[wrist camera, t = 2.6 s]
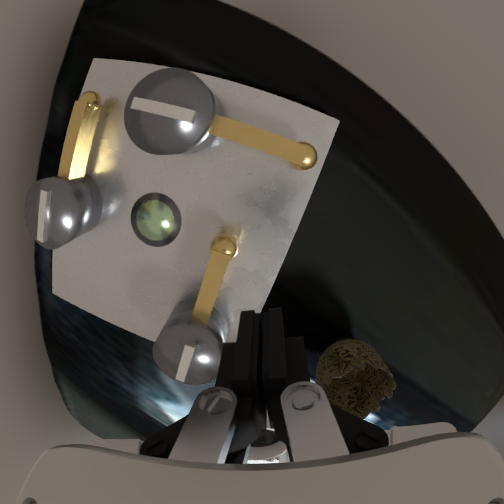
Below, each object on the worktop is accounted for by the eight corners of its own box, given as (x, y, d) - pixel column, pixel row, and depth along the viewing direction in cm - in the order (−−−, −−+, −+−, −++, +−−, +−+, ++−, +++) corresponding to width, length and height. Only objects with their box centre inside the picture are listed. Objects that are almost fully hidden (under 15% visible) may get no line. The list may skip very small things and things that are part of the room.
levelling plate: (235, 360, 30) (233, 370, 28) (59, 287, 28) (51, 293, 27) (335, 122, 21) (340, 120, 20) (101, 61, 20) (93, 57, 18)
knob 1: (142, 143, 21) (109, 143, 16) (165, 77, 19) (137, 59, 14) (298, 195, 22) (308, 209, 17) (325, 127, 20) (343, 119, 15)
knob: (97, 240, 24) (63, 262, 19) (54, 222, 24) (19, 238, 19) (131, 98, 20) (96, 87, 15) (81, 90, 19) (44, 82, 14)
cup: (331, 307, 27) (349, 359, 20) (385, 329, 28) (411, 378, 20) (294, 359, 29) (299, 414, 22) (347, 376, 30) (361, 427, 23)
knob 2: (218, 358, 28) (210, 396, 23) (164, 338, 28) (146, 374, 22) (265, 240, 24) (265, 266, 18) (197, 215, 23) (177, 234, 18)
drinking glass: (280, 347, 29) (282, 421, 20) (291, 387, 31) (296, 456, 22) (221, 357, 30) (205, 428, 20) (238, 395, 32) (230, 462, 23)
